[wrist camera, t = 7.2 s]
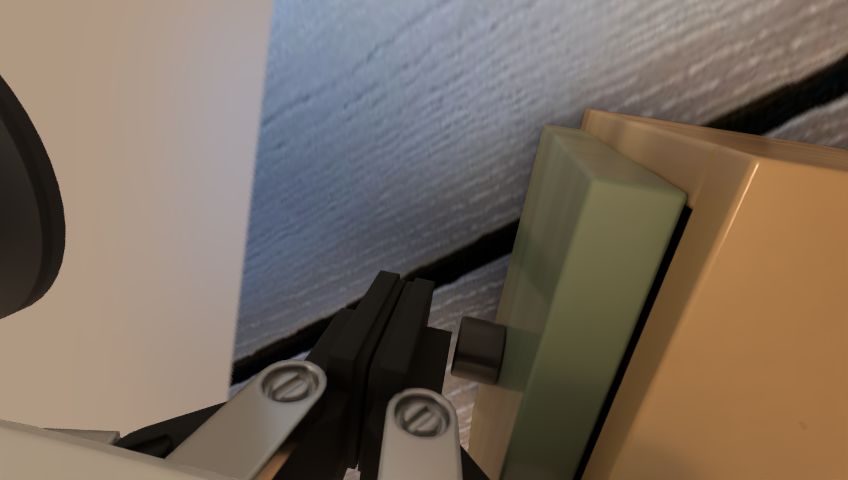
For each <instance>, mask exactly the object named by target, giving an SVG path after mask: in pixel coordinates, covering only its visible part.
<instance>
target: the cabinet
mask: <svg viewBox="0 0 848 480" xmlns="http://www.w3.org/2000/svg"><path fill="white" fill-rule="evenodd" d="M580 130H583V131H585V132H586V133H588V134H590V135H591V136H593V137H595V138H596V139H598V140H599V141H601V142H603V143H604V144H606V145H608V146H609V147H611V148H613V149H614V150H616V151H618V152H619V153H621V154H623V155H624V156H626V157H628V158H629V159H631V160H632V161H634V162H636V163H637V164H639V165H641V166H642V167H644V168H646V169H647V170H649V171H651V172H652V173H654V174H656V175H657V176H659V177H661V178H662V179H664V180H666V181H667V182H669V183H670V184H672V185H674V186H675V187H677V188H679V189H680V190H682V191H684V192H685V193H687V200H686V202H685V205H686V206H688V207H689V208H691V209H692V210H693V211H692V213H691V215H690V218H689V220H688V223H687V225H686V227H685V230H684V232H683V235H682V237H681V239H680V242H679V244H678V247H677V249H676V252H675V254H674V256H673V259H672V261H671V264H670V266H669V268H668V271H667V273H666V276H665V278H664V280H663V283H662V285H661V288H660V290H659V293H658V295H657V297H656V300H655V302H654V305H653V307H652V309H651V312H650V314H649V317H648V319H647V321H646V324H645V326H644V329H643V331H642V334H641V336H640V338H639V341H638V343H637V346H636V348H635V350H634V353H633V355H632V358H631V360H630V362H629V365H628V367H627V370H626V372H625V375H624V377H623V379H622V382H621V384H620V387H619V389H618V391H617V394H616V396H615V399H614V401H613V403H612V406H611V408H610V411H609V413H608V416H607V418H606V420H605V423H604V425H603V428H602V430H601V432H600V435H599V437H598V440H597V442H596V444H595V447H594V449H593V452H592V454H591V457H590V459H589V461H588V464H587V466H586V469H585V471H584V473H583V476H582V478H581V480H848V150H846V149H840V148H834V147H827V146H821V145H815V144H809V143H802V142H796V141H790V140H784V139H777V138H771V137H765V136H759V135H752V134H746V133H740V132H734V131H727V130H721V129H715V128H708V127H702V126H696V125H690V124H683V123H677V122H671V121H665V120H658V119H652V118H646V117H640V116H633V115H627V114H621V113H615V112H608V111H602V110H596V109H590V108H587V109H586V110H585V112H584V116H583V119H582V123H581V127H580Z"/></svg>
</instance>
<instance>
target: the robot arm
mask: <svg viewBox="0 0 848 480" xmlns="http://www.w3.org/2000/svg"><path fill="white" fill-rule="evenodd" d="M434 283H435V282H434V281H429V280H424V279H420V278H415V281H414V282H409V281H407V283H406V280H401V279H400V274H397V273H392V272H387V271H382V270H380V272H379V273H378V275H377V276H376V278H375V280H374V281H373V283H372V284H371V286H370V288H369V289H368V291H367V292H366V294H365V295H364V297H363V299H362V300H361V302H360V303H359V305H358V307H357V308H356V310H351V309H346V308H341V309H340V310H339V311H338V313H337V314H336V316H335V317H334V319H333V320H332V321H331V323H330V324H329V326H328V327H327V329H326V330H325V331H324V333H323V334H322V336H321V337H320V339H319V340H318V341H317V343H316V344H315V346H314V347H313V349H312V350H311V351H310V353H309V354H308V356H307V357H306V359H305V360H297V359H290V360H284V361H279V362H277V363H274V364H272V365H270V366H268V367H267V368H265V369H264V370H262V371H261V372H260V373H259V374H258V375H257V376H256V377H254V378H253V379H252V380H251V381H250V382H249V383H248V384H247V385H246V386H244V387H243V388H242V389H241V390H240V391H239V392H238V393H237V394H236V395H235V396H233V397H232V398H231V399H230V400H229V401H227V402H224V403H221V404H217V405H214V406H211V407H208V408H205V409H201V410H198V411H195V412H192V413H189V414H185V415H182V416H179V417H176V418H173V419H169V420H166V421H163V422H160V423H157V424H153V425H150V426H147V427H144V428H142V429H139V430H137V431H134V432H132V433H129V434H128V435H127V436H125V437H123V438H120V433H119V431H97V430H75V429H52V428H39V427H35V426H31V425H26V424H21V423H15V422H10V421H5V420H0V480H343V478H344V476H345V473H346V471H347V468H351V469H355V468H356V467H357V464H358V471H360V472H361V473H360V480H490V479H489V477H488V476H487V475H486V474H485V473H484V472H483V471H482V469H481V468H480V467H479V466H478V465H477V464H476V462H475V461H474V460H473V459H472V458H471V457H470V455H469V454H468V453H467V452H466V451H465V450H464V449H463V447H462V446H461V445H460V439H459V427H458V417H457V414H456V410H455V408H454V407H453V405H452V404H451V402H450V401H449V400H447V399H446V398H445V397H444V396H443V395H441V394H442V388H443V382H444V376H445V370H446V364H447V359H448V353H449V347H450V341H451V335H452V332H450V331H446V330H441V329H436V328H432V327H427V324H428V318H429V313H430V307H431V301H432V296H433V290H434ZM358 461H359V463H358Z"/></svg>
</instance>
